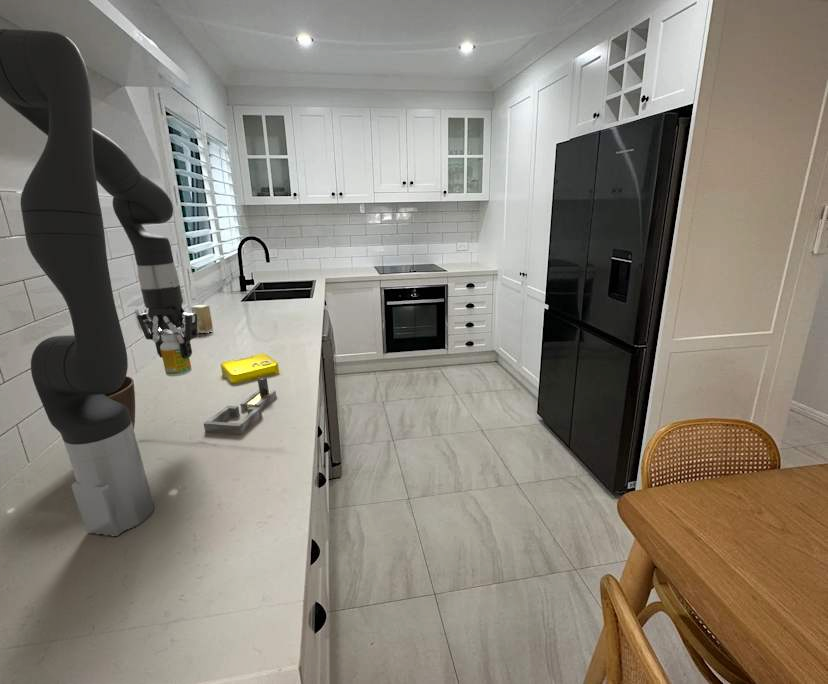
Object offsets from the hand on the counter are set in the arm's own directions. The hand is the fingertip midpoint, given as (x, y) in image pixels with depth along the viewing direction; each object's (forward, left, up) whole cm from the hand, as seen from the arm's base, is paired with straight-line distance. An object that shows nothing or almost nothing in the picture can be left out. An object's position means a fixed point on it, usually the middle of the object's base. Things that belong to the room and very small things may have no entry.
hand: (175, 356), depth 99 cm
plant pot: (-13, +11, -19) cm, 25 cm away
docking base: (+8, -10, -19) cm, 23 cm away
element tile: (+35, +5, -20) cm, 41 cm away
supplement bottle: (0, 0, -4) cm, 4 cm away
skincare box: (+79, +55, -19) cm, 98 cm away
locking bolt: (+14, -10, -18) cm, 25 cm away
